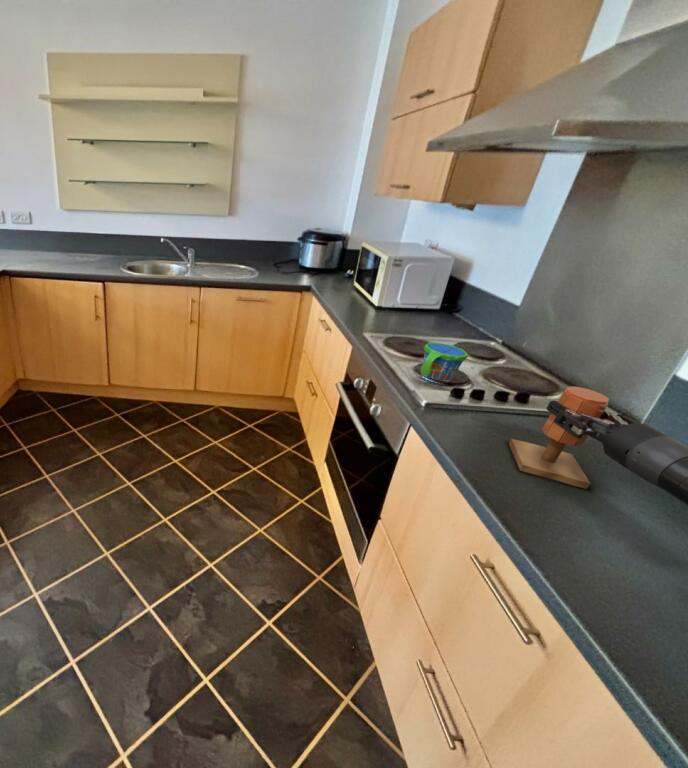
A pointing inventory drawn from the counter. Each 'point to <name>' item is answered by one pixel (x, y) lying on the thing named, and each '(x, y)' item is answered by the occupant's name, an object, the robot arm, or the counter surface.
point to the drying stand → (549, 462)
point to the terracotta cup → (579, 403)
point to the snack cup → (441, 361)
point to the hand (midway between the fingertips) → (567, 405)
